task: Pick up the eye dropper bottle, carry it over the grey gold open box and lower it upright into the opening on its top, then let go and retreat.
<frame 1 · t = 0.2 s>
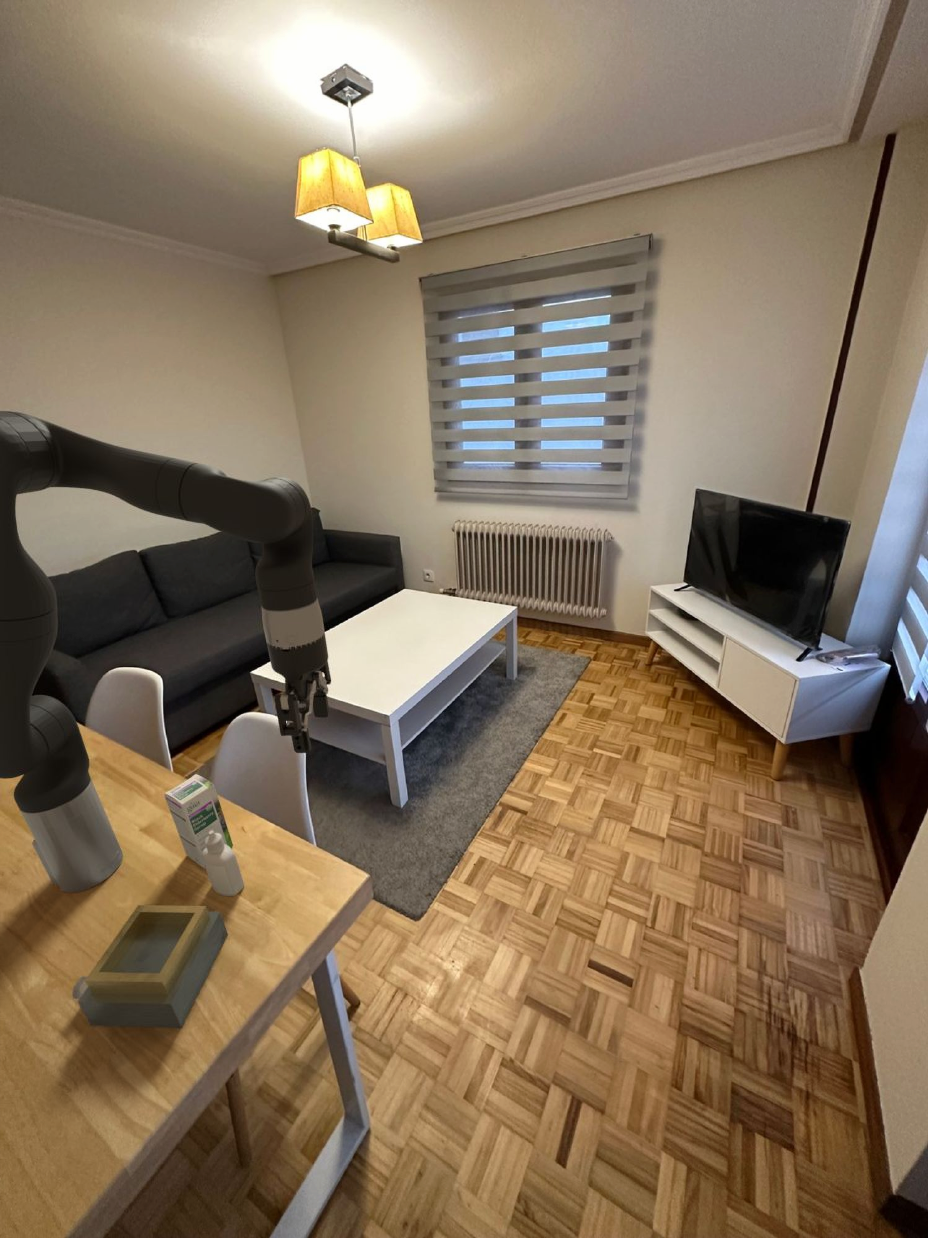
hand: (313, 733, 71), 28 cm above the table, fingers open, 8 cm apart
grey gold open box: (164, 976, 67), on the table
eye dropper bottle: (228, 887, 80), on the table
syrup box: (210, 851, 86), on the table
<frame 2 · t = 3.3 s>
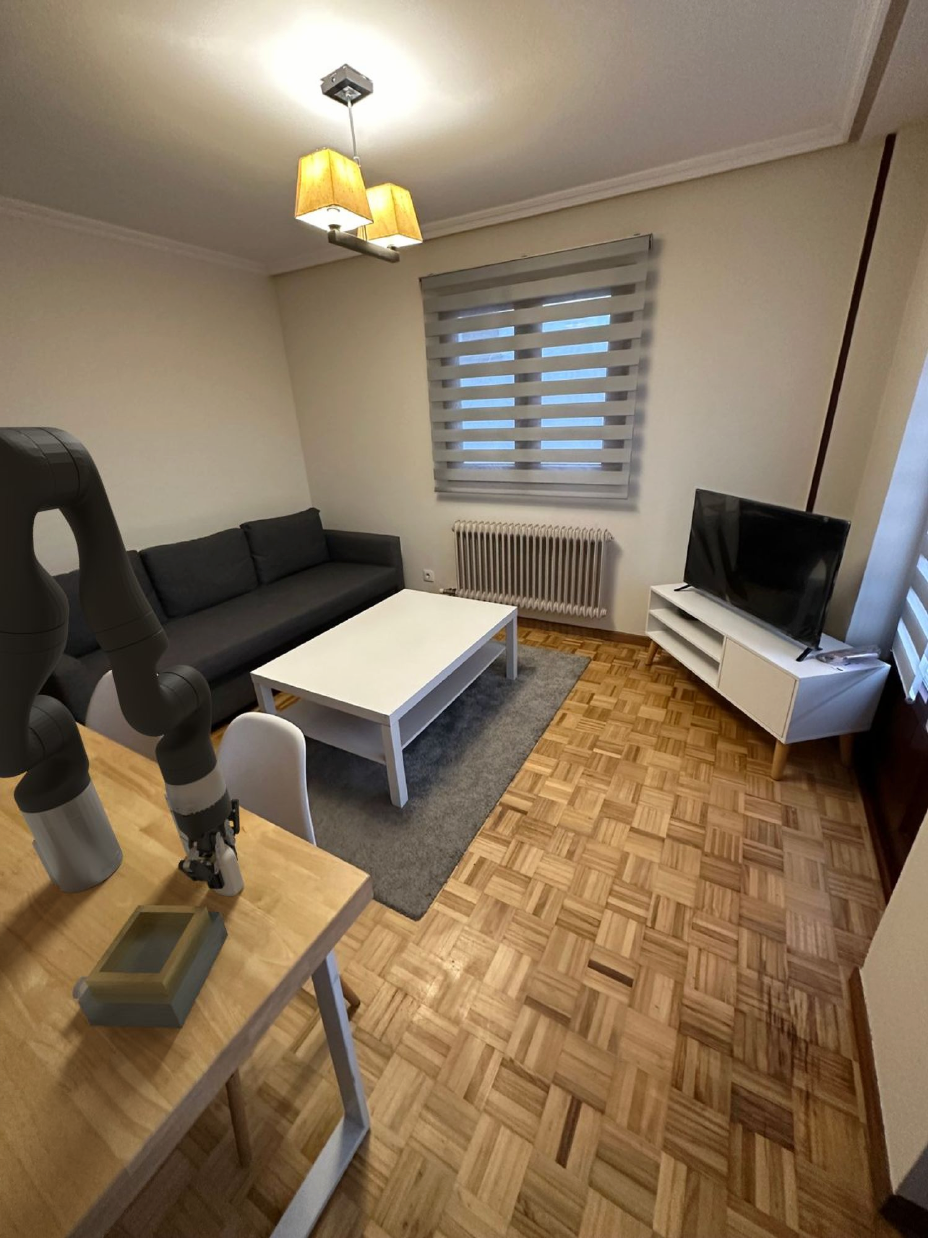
hand: (224, 874, 78), 3 cm above the table, fingers closed on eye dropper bottle, 3 cm apart
eye dropper bottle: (228, 887, 80), on the table, touching gripper
everything else where it was.
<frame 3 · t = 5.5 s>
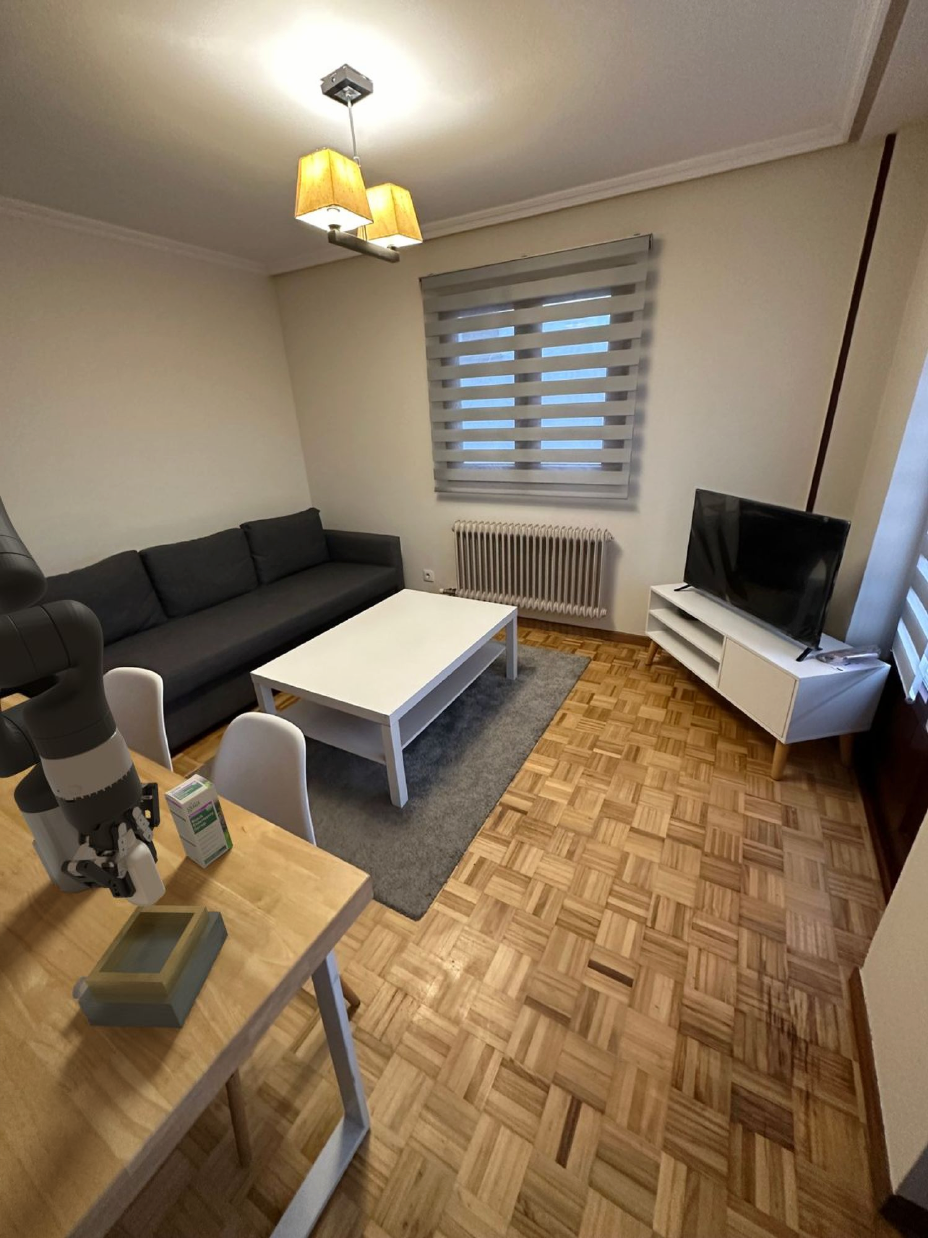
hand: (138, 879, 61), 17 cm above the table, fingers closed on eye dropper bottle, 3 cm apart
eye dropper bottle: (145, 894, 62), point 14 cm above the table, touching gripper
everything else where it was.
when the fingers open (9 cm above the table, at t = 7.5 s): eye dropper bottle drops 1 cm, resting on grey gold open box.
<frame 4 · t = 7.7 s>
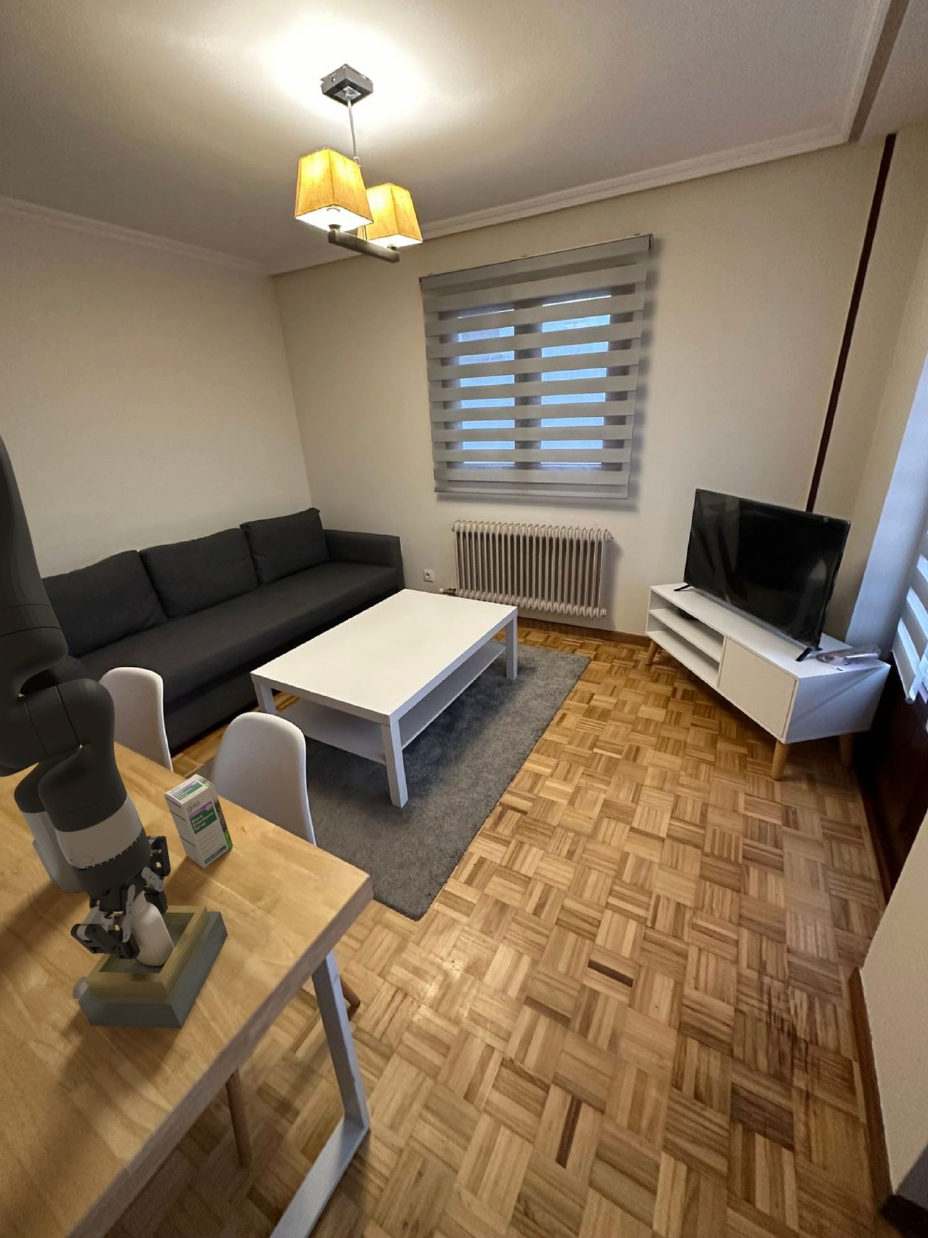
hand: (145, 932, 63), 9 cm above the table, fingers open, 5 cm apart
eye dropper bottle: (155, 953, 65), point 5 cm above the table, touching grey gold open box
everything else where it was.
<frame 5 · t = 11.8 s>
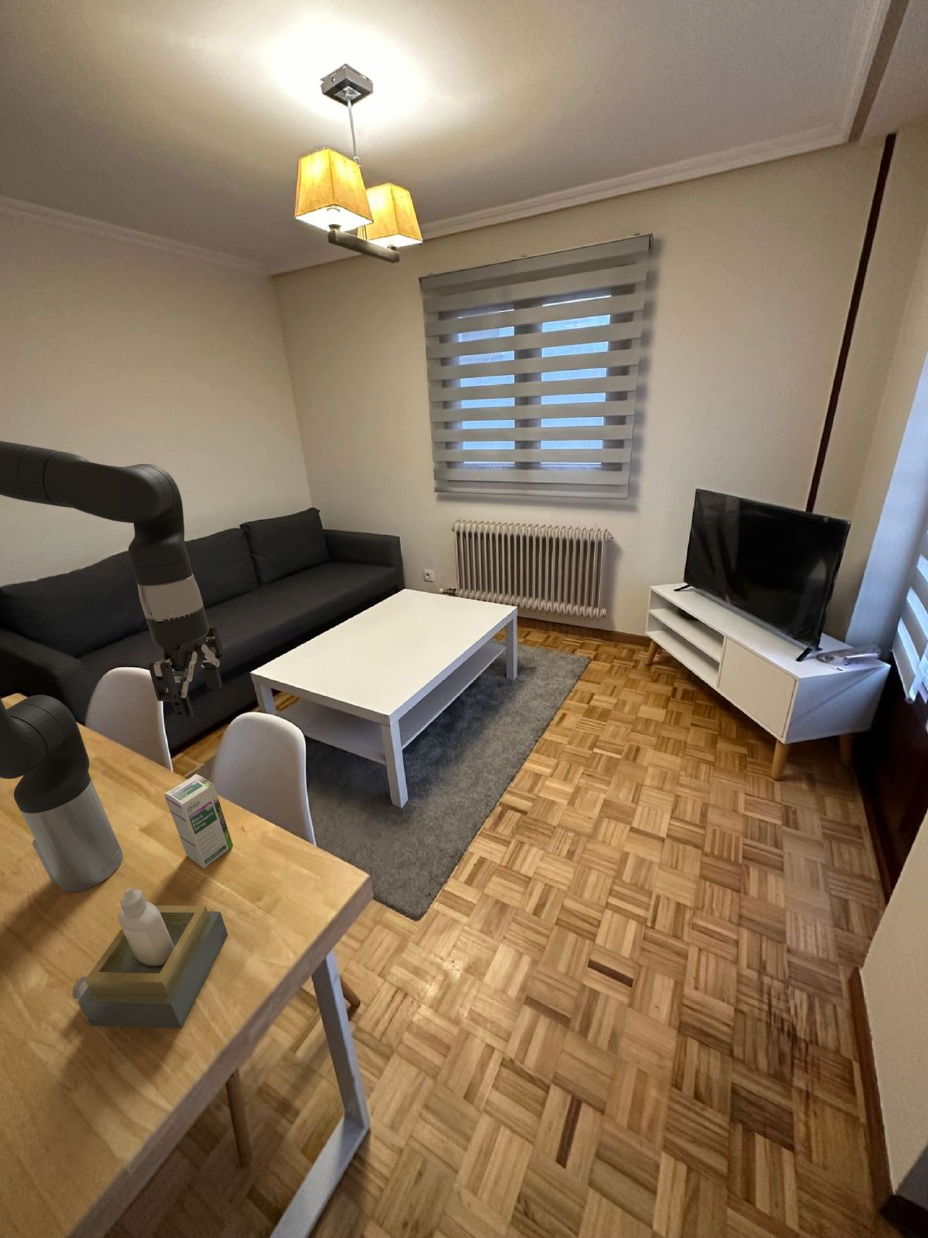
hand: (201, 702, 76), 30 cm above the table, fingers open, 8 cm apart
nothing on the table moved.
at the end: eye dropper bottle inside the target area on the grey gold open box (0.1 cm from its centre), point 4.8 cm above the grey gold open box's base; eye dropper bottle tilted 0°; the gripper is holding nothing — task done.
